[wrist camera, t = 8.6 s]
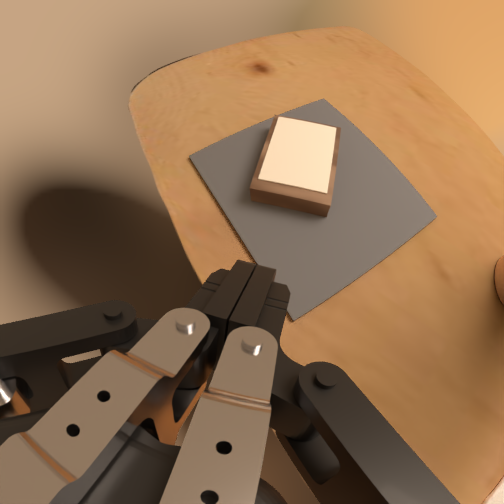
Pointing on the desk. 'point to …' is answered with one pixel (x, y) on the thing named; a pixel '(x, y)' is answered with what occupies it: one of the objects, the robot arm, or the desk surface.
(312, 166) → the walnut picture frame
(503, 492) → the flat white fragment
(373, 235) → the desk mat
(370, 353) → the desk surface
